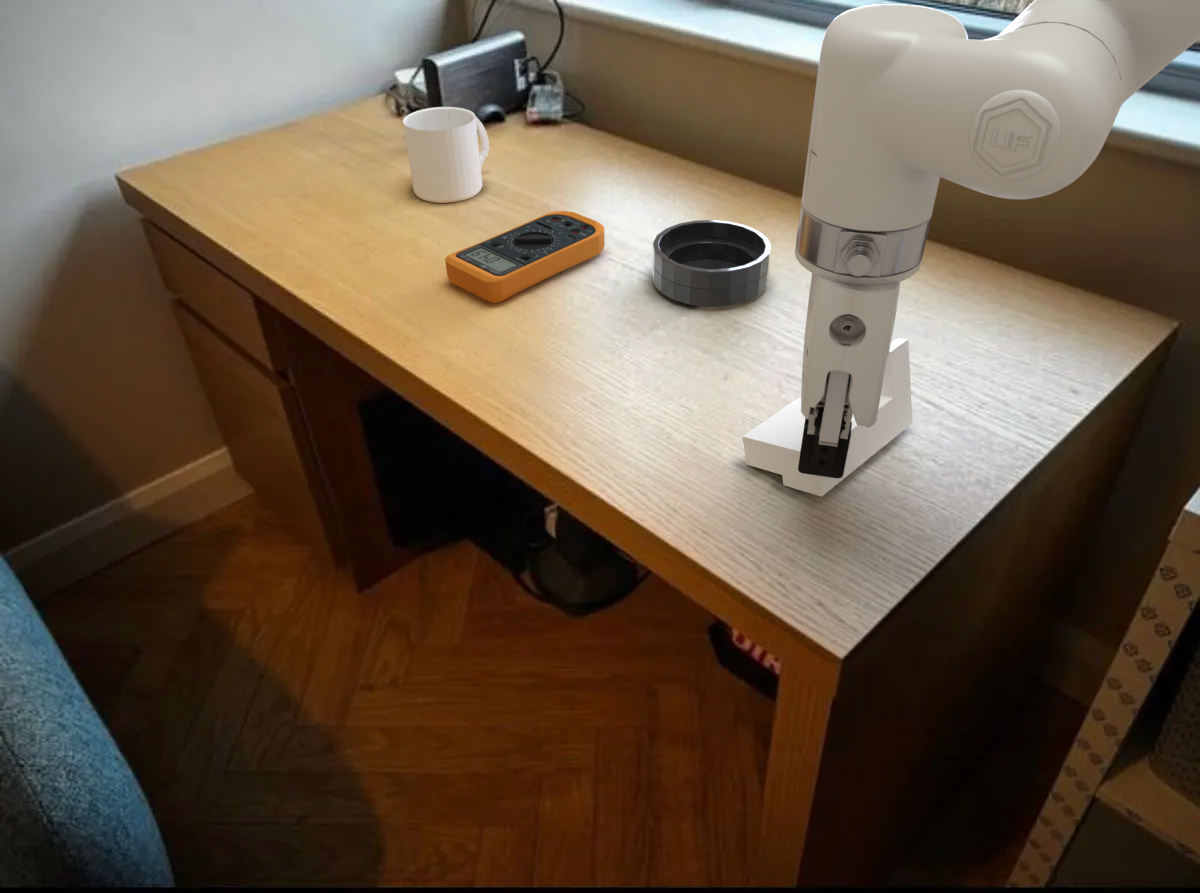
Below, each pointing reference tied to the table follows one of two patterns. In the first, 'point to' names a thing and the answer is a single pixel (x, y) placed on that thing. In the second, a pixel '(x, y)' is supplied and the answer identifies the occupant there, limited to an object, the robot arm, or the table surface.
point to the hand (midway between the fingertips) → (820, 468)
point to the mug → (445, 153)
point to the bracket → (783, 431)
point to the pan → (711, 263)
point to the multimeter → (525, 255)
